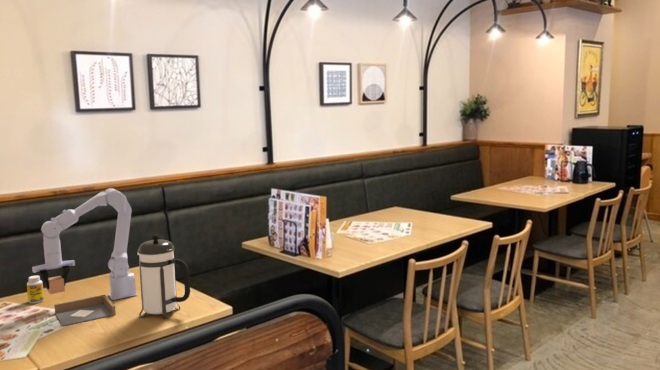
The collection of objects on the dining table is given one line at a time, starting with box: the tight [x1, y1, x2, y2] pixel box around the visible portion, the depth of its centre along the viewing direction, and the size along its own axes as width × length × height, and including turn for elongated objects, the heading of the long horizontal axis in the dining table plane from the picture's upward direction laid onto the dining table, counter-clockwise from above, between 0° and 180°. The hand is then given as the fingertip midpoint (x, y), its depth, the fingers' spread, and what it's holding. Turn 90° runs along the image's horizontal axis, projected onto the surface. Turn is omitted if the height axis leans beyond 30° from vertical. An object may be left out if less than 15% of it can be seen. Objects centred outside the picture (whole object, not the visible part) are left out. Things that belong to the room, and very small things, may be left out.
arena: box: [54, 294, 117, 327], centre depth 202 cm, size 18×16×3 cm
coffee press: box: [137, 233, 191, 320], centre depth 201 cm, size 17×16×30 cm
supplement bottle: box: [26, 275, 45, 304], centre depth 216 cm, size 6×6×10 cm
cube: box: [46, 275, 66, 295], centre depth 208 cm, size 5×5×5 cm
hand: (55, 287), depth 208 cm, fingers closed on cube, 5 cm apart
